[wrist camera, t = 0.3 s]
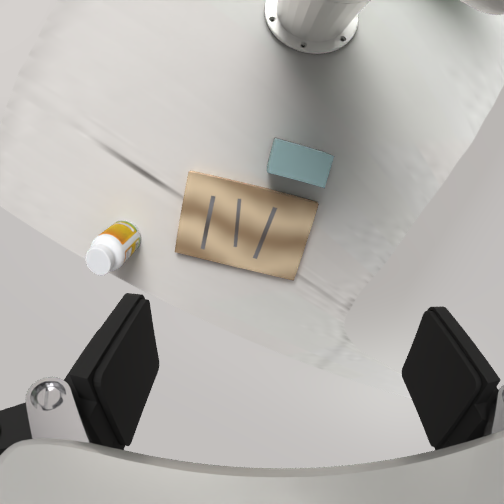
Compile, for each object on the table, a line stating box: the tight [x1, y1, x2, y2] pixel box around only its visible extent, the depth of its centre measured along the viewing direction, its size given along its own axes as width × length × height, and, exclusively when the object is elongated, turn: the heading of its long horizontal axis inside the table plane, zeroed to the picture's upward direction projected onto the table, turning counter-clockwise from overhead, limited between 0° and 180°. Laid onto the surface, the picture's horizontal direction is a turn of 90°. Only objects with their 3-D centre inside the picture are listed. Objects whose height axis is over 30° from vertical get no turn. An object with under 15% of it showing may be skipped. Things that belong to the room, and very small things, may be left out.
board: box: [175, 171, 319, 281], centre depth 44 cm, size 12×18×1 cm, turn 76°
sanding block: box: [267, 138, 334, 188], centre depth 37 cm, size 7×4×6 cm, turn 76°
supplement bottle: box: [85, 220, 141, 276], centre depth 41 cm, size 5×5×10 cm
